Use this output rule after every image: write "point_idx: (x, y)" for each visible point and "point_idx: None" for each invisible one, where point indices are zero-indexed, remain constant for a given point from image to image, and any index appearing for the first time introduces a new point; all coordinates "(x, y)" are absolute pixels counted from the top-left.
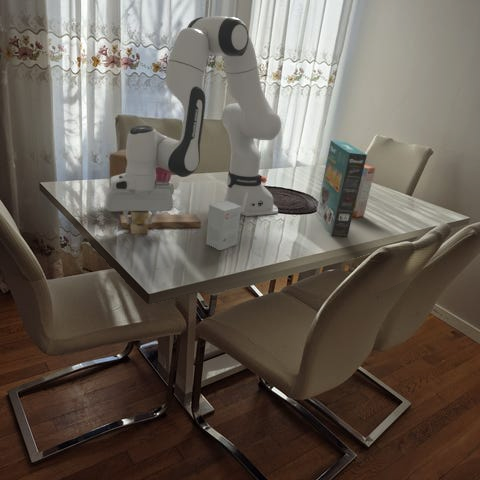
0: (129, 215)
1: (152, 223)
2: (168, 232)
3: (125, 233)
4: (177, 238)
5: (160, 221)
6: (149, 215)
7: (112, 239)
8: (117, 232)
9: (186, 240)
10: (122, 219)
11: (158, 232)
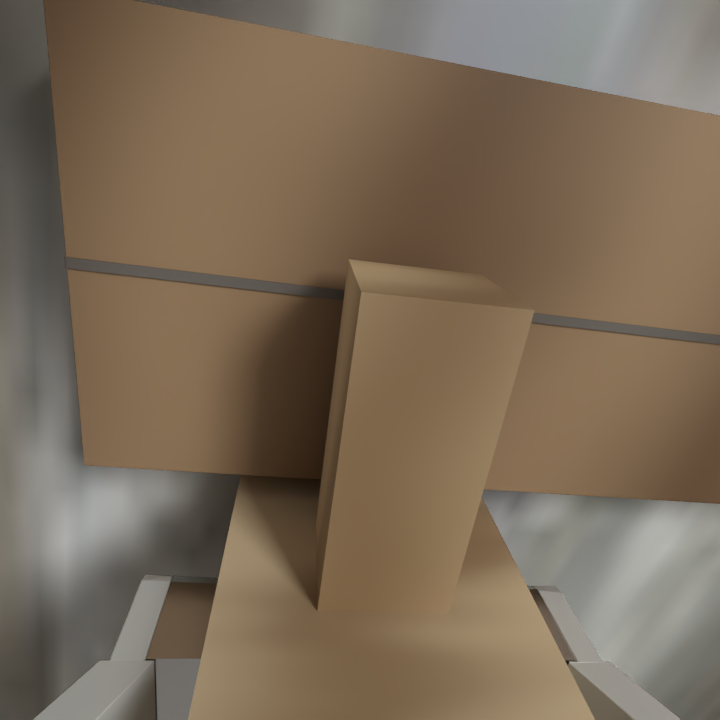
0: (296, 87)
1: (578, 481)
2: (649, 567)
3: (165, 550)
4: (645, 679)
5: (715, 477)
6: (716, 173)
7: (4, 666)
8: (62, 516)
9: (689, 711)
10: (106, 319)
11: (550, 558)
